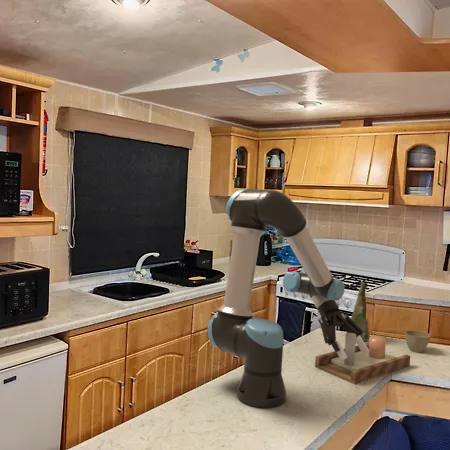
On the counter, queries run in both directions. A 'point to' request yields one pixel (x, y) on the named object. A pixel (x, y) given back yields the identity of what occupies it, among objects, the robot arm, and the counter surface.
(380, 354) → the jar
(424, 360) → the counter surface
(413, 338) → the flower pot
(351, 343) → the cream flat panel
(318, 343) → the counter surface
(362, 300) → the olive tapered piece
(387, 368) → the tray
